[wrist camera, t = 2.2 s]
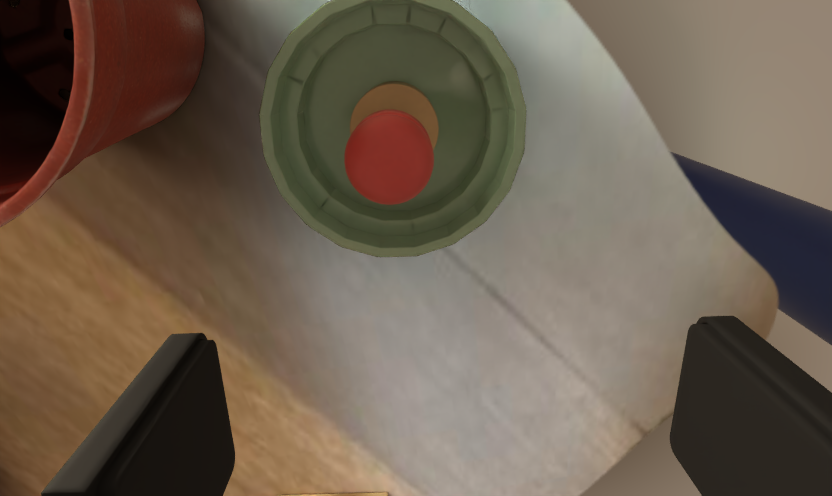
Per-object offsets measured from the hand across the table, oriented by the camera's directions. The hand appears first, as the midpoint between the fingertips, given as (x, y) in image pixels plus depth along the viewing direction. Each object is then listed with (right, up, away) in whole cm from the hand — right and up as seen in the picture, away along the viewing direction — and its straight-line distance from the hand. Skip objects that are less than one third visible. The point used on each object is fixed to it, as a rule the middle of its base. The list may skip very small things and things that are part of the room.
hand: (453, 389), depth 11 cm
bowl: (-2, +11, +23) cm, 25 cm away
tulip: (-2, +10, +22) cm, 25 cm away
